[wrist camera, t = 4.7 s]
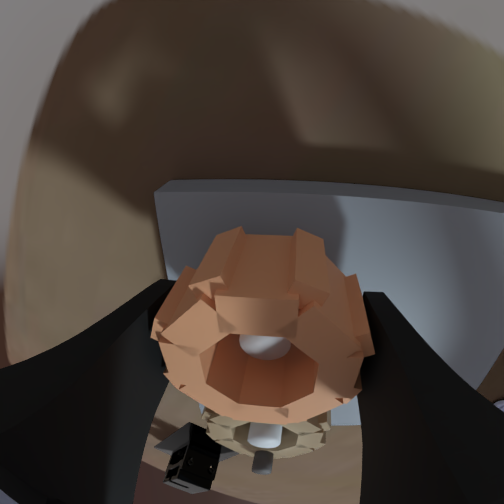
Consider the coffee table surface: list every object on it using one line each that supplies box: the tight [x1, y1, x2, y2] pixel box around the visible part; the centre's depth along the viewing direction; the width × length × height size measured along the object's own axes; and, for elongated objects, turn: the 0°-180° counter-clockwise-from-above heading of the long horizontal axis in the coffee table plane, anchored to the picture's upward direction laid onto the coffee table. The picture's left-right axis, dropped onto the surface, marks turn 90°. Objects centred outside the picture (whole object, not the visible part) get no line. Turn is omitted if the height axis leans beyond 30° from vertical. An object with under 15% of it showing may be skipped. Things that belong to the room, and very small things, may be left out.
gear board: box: [154, 179, 504, 448], centre depth 11 cm, size 16×13×4 cm
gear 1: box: [150, 226, 375, 425], centre depth 8 cm, size 6×6×3 cm
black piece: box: [154, 422, 240, 494], centre depth 21 cm, size 12×7×5 cm, turn 147°
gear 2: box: [201, 406, 331, 474], centre depth 12 cm, size 6×6×4 cm
